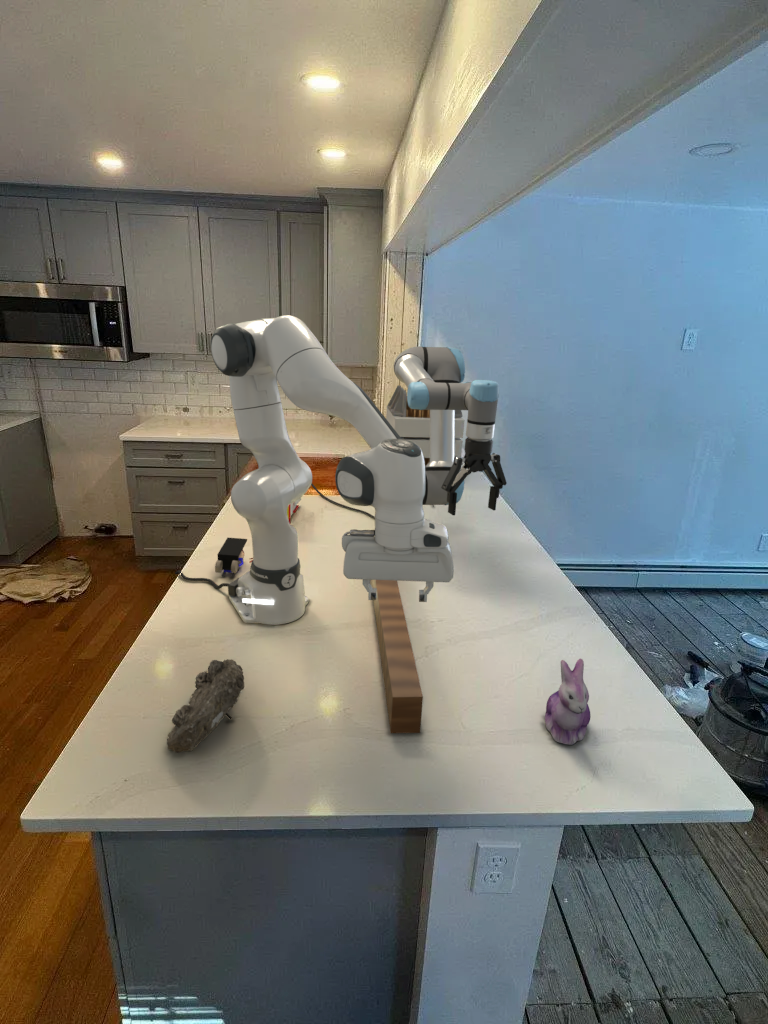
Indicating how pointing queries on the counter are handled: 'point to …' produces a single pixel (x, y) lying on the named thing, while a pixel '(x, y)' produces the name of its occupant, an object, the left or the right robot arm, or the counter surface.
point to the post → (397, 660)
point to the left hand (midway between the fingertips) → (397, 599)
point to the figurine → (569, 706)
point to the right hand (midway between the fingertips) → (471, 511)
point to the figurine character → (230, 556)
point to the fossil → (206, 705)
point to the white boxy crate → (418, 424)
